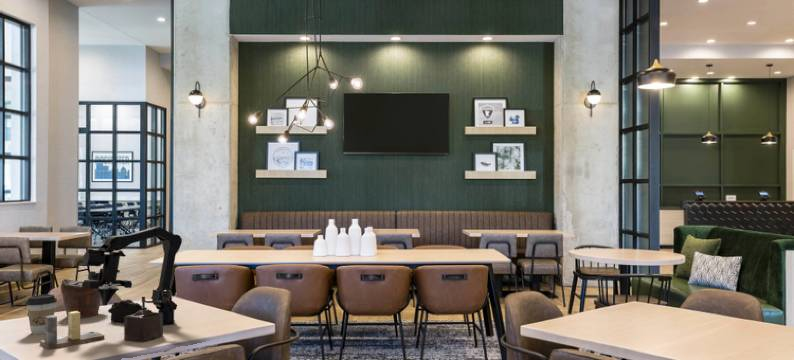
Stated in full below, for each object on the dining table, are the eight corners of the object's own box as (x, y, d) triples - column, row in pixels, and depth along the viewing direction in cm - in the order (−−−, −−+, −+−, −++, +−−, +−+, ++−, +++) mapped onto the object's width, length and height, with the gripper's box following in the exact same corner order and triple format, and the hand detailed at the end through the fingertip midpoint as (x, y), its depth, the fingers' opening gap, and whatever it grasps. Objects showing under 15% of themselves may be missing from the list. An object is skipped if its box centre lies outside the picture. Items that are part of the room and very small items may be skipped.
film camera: (154, 317, 260) (154, 296, 260) (144, 323, 247) (143, 301, 248) (115, 318, 259) (115, 297, 259) (102, 324, 246) (102, 302, 247)
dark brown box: (144, 342, 215) (143, 296, 215) (123, 340, 219) (123, 294, 220) (174, 333, 229) (174, 289, 230) (154, 330, 234) (154, 287, 234)
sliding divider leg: (73, 335, 222) (73, 309, 222) (80, 338, 216) (80, 312, 217) (65, 336, 219) (65, 311, 220) (71, 339, 214) (71, 313, 214)
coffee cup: (23, 337, 226) (23, 300, 227) (27, 331, 237) (27, 295, 237) (56, 333, 232) (56, 297, 232) (58, 327, 242) (58, 293, 242)
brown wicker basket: (114, 312, 270) (114, 275, 270) (72, 321, 253) (71, 282, 254) (94, 309, 280) (93, 274, 280) (52, 318, 263) (51, 279, 263)
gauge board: (94, 334, 229) (94, 306, 229) (104, 339, 221) (104, 309, 222) (40, 344, 214) (39, 314, 215) (48, 349, 207) (48, 318, 207)
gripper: (118, 265, 241) (112, 301, 239) (76, 264, 225) (70, 303, 223) (135, 268, 236) (129, 305, 234) (93, 267, 219) (87, 307, 218)
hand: (104, 305), depth 227 cm, fingers closed
